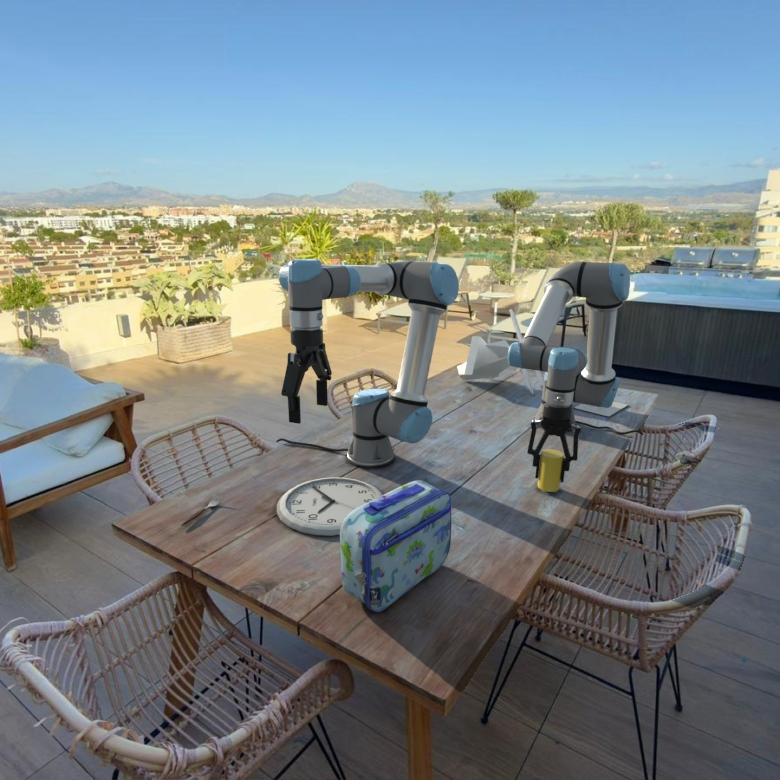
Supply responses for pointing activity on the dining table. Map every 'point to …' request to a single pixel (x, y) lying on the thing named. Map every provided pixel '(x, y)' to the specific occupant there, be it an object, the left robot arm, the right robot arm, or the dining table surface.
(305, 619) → the dining table surface
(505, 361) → the white plastic object
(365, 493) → the wall clock
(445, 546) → the lunch box
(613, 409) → the invitation card
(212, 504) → the fork
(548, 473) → the can
